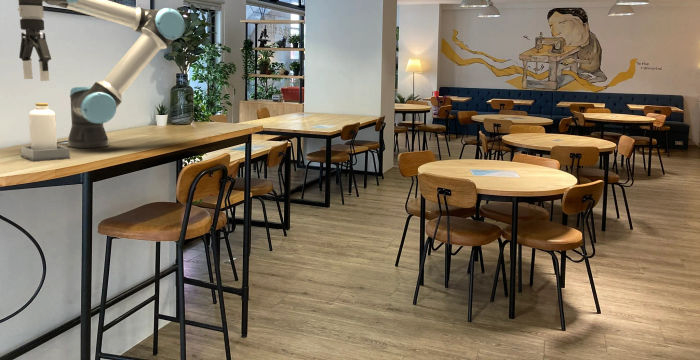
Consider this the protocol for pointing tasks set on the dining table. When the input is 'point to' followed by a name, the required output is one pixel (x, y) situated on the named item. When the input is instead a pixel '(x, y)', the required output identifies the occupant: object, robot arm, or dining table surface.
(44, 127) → the potion bottle
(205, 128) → the dining table surface
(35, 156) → the grey square tray
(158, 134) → the dining table surface
